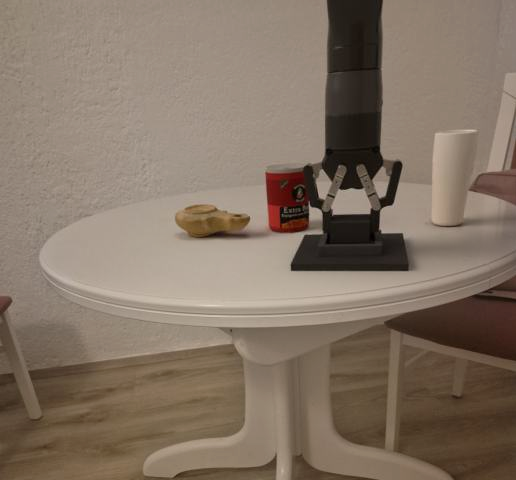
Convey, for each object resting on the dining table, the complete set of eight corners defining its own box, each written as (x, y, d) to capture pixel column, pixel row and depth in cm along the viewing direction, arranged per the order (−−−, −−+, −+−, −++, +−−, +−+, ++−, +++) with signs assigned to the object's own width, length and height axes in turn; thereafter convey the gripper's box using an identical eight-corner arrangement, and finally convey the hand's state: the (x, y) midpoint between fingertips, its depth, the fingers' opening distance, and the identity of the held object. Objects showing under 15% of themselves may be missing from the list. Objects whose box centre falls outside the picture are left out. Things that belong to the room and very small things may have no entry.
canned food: (283, 235, 86) (280, 170, 81) (260, 227, 92) (256, 167, 87) (318, 227, 89) (317, 164, 84) (294, 220, 95) (292, 162, 90)
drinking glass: (441, 217, 90) (450, 129, 83) (475, 222, 85) (487, 129, 78) (418, 224, 86) (425, 133, 79) (451, 230, 81) (463, 133, 74)
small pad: (369, 233, 74) (370, 213, 73) (369, 243, 69) (370, 222, 68) (333, 233, 75) (333, 214, 74) (330, 243, 70) (330, 223, 69)
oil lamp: (251, 238, 85) (249, 210, 83) (171, 244, 86) (167, 216, 83) (251, 225, 95) (249, 199, 92) (179, 230, 95) (175, 204, 93)
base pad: (402, 239, 78) (403, 223, 77) (408, 270, 65) (409, 252, 63) (304, 240, 82) (304, 225, 81) (290, 270, 68) (290, 253, 67)
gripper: (296, 115, 63) (299, 242, 70) (411, 107, 59) (401, 241, 67) (303, 112, 69) (305, 230, 77) (407, 105, 66) (399, 228, 74)
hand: (350, 234), depth 72 cm, fingers closed on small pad, 5 cm apart
